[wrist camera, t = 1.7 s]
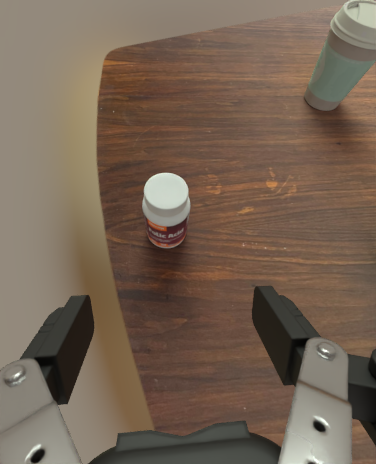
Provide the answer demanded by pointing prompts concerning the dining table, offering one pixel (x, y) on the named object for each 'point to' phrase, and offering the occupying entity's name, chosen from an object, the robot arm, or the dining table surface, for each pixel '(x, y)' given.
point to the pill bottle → (166, 209)
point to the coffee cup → (344, 55)
